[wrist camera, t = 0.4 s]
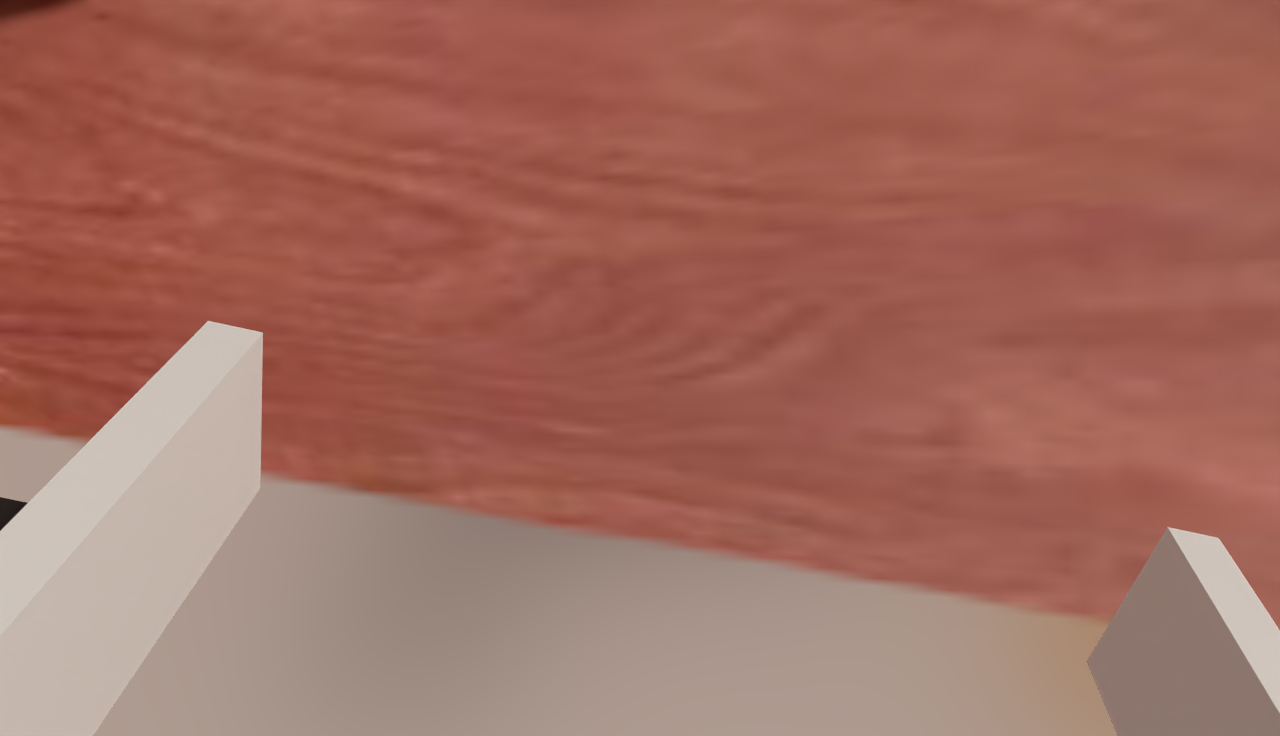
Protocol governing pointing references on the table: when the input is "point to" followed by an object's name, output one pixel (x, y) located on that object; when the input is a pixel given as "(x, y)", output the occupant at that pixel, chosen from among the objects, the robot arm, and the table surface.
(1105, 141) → the table surface
